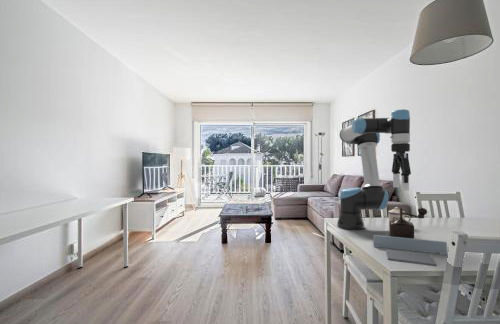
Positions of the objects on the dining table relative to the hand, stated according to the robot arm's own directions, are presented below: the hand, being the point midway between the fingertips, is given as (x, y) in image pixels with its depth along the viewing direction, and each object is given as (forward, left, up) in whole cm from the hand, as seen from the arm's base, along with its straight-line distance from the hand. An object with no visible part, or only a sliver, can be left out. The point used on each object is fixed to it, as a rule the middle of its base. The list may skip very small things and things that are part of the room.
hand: (400, 188), depth 124 cm
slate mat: (+17, +1, -27) cm, 31 cm away
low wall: (+6, +2, -27) cm, 27 cm away
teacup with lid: (-40, +3, -27) cm, 49 cm away
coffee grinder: (-5, +3, -27) cm, 28 cm away
